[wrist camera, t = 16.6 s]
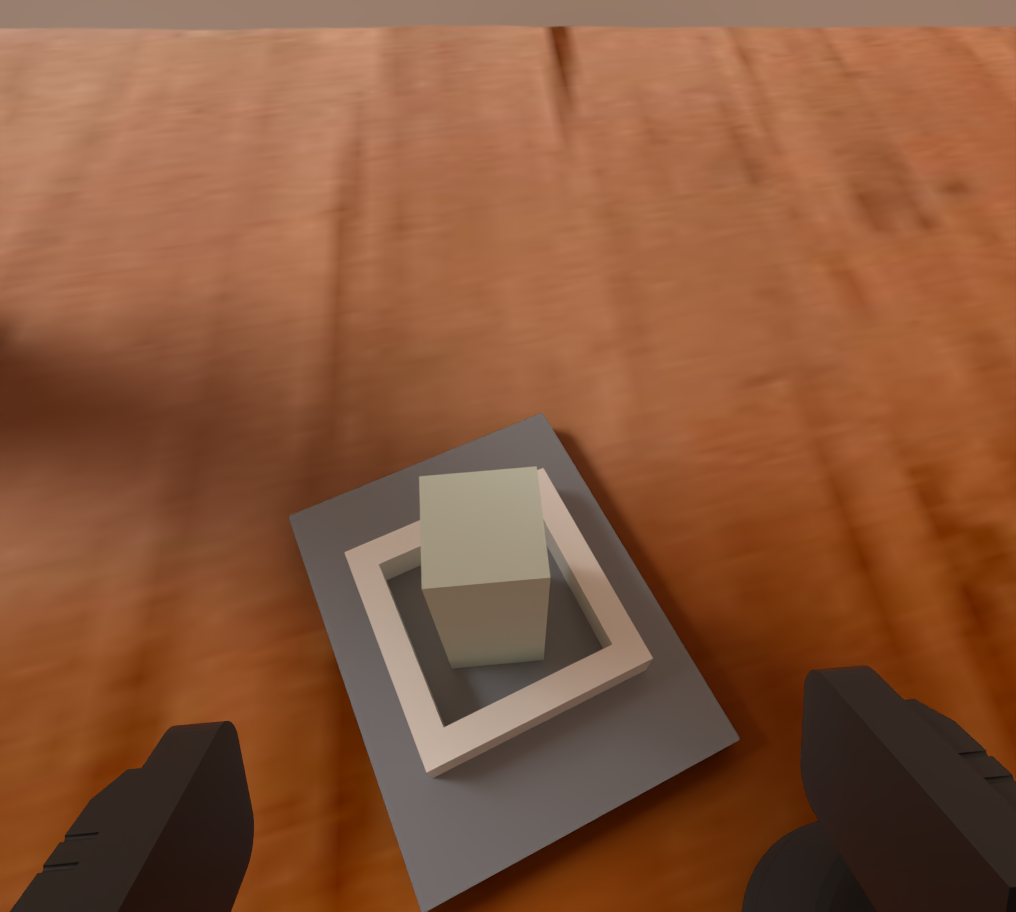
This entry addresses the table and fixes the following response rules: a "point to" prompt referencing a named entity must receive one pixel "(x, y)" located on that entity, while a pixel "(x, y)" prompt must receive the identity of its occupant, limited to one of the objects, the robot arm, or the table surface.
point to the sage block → (485, 565)
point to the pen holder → (804, 877)
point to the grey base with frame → (503, 674)
